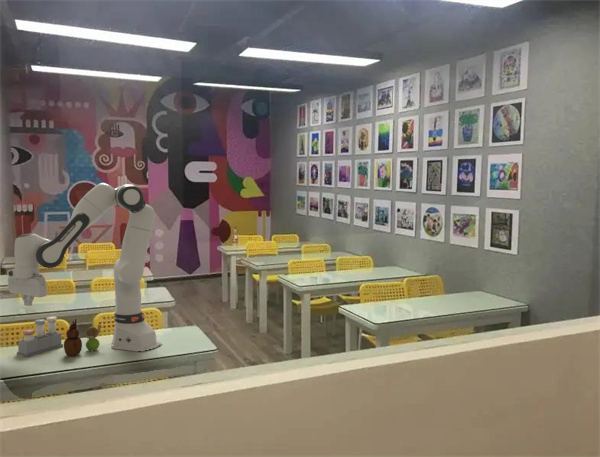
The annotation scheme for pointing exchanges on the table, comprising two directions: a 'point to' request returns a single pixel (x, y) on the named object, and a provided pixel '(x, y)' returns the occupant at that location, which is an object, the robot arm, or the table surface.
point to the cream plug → (51, 325)
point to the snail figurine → (93, 338)
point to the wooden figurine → (72, 341)
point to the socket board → (39, 345)
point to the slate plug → (40, 328)
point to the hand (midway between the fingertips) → (28, 305)
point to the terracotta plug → (28, 335)
